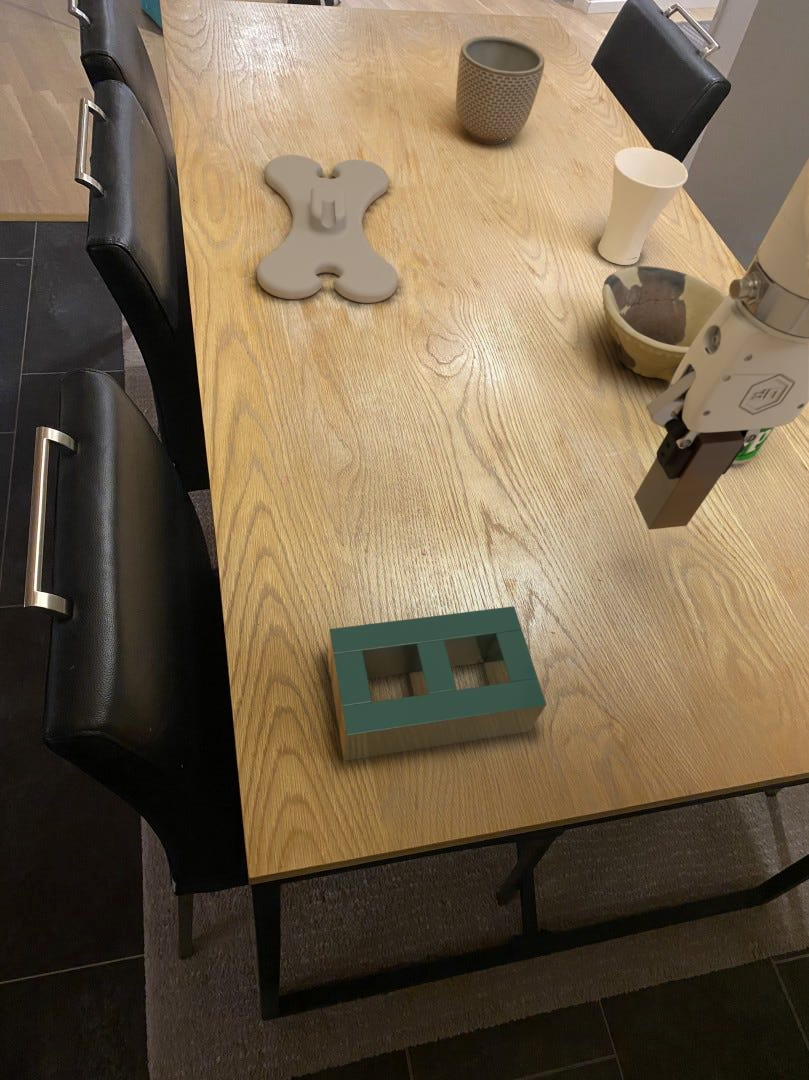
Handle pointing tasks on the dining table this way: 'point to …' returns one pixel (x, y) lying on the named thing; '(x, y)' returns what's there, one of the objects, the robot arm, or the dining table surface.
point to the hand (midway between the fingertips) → (690, 463)
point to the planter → (496, 86)
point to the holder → (327, 231)
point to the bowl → (656, 316)
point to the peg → (686, 481)
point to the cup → (638, 200)
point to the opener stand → (432, 682)
